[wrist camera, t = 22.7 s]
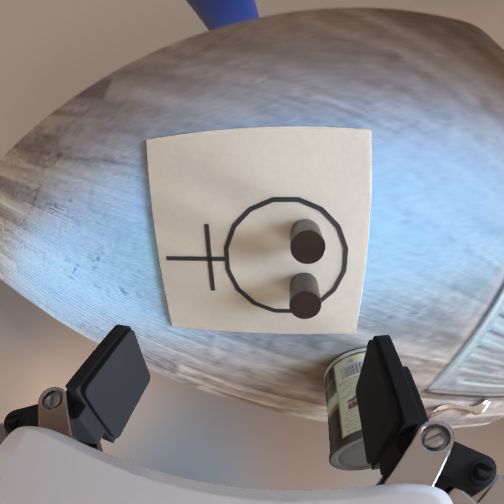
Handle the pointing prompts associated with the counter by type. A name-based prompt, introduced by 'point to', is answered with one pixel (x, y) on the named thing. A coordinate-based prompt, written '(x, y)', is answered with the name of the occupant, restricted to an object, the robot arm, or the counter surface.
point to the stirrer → (473, 409)
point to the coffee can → (345, 412)
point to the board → (260, 224)
